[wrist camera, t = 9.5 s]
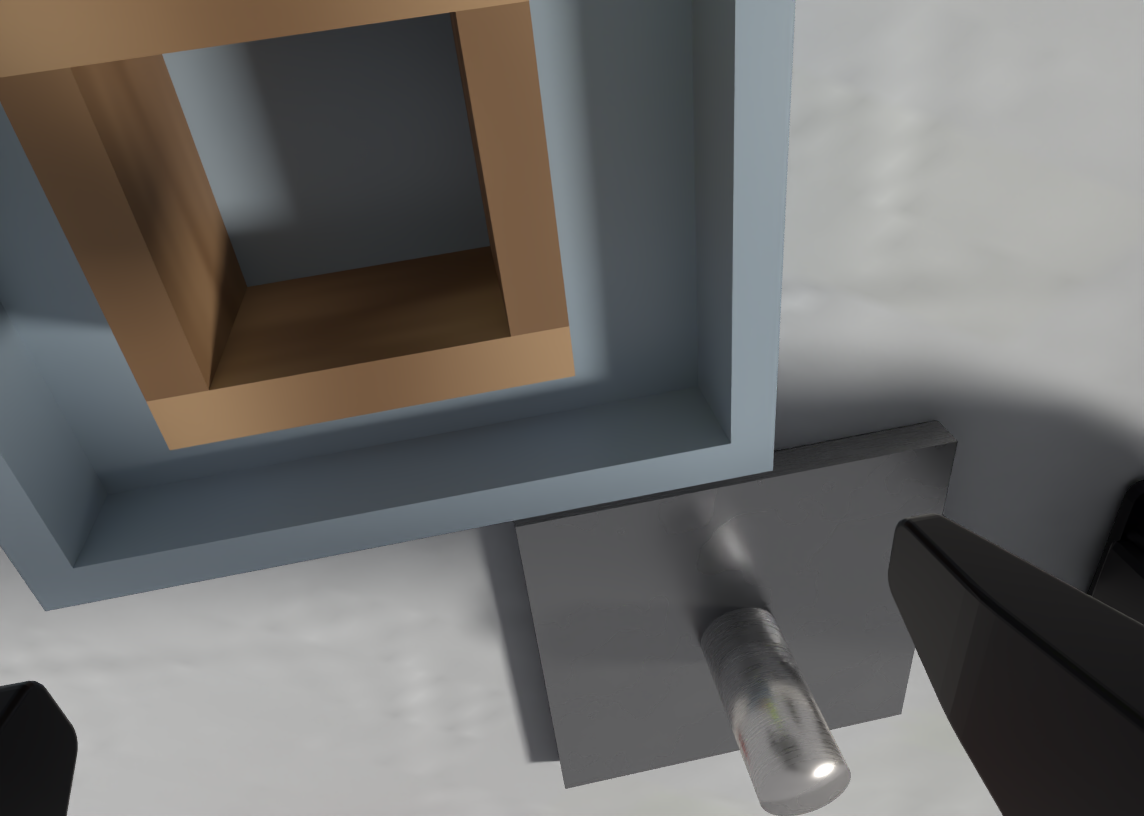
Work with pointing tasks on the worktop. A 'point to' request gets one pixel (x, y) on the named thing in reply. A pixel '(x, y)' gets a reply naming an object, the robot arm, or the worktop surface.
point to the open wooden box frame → (203, 248)
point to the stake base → (715, 565)
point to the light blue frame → (408, 231)
